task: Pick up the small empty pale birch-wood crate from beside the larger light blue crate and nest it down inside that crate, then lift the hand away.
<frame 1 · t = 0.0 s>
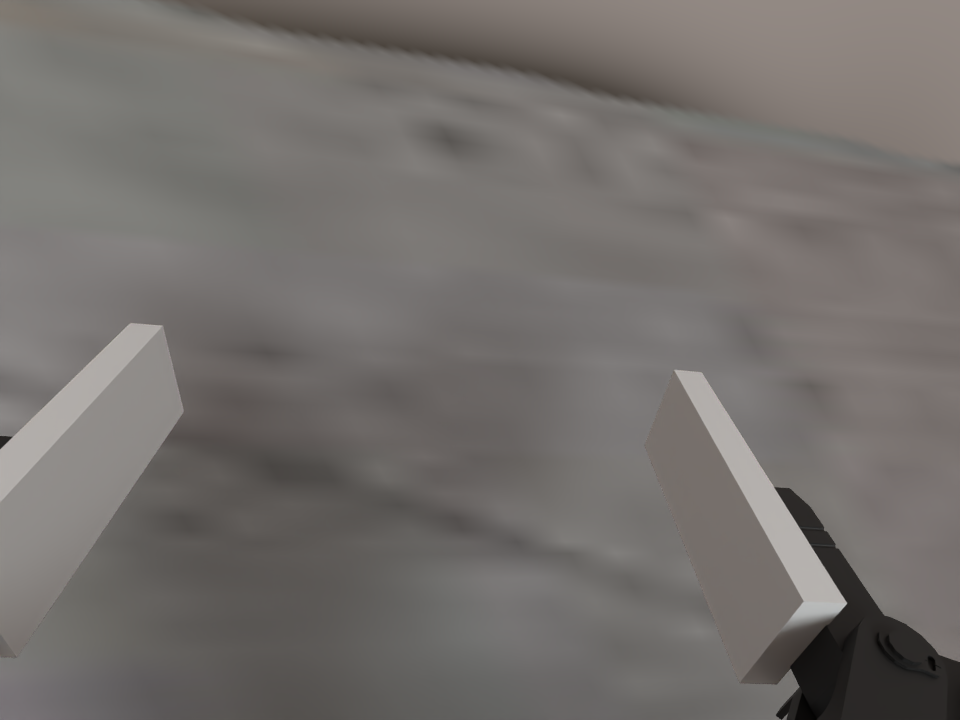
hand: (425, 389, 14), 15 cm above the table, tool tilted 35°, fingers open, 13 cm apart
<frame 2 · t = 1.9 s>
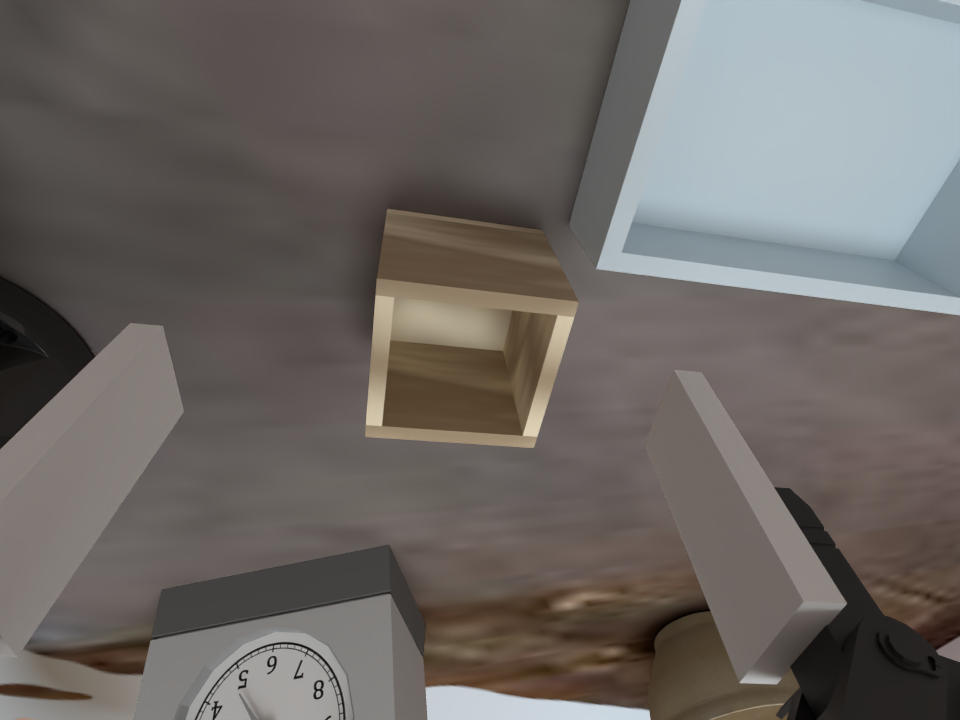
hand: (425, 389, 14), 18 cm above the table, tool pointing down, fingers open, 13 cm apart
alarm clock: (308, 611, 52), on the table
planter bowl: (694, 630, 60), on the table
light blue crate: (791, 130, 29), on the table
birch crate: (455, 288, 33), on the table
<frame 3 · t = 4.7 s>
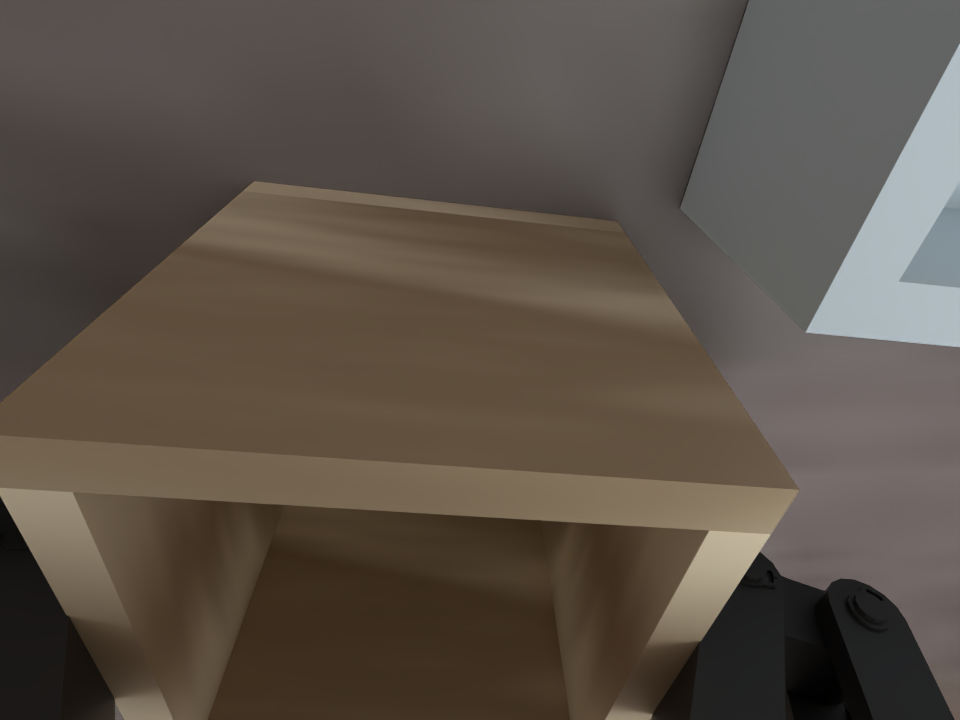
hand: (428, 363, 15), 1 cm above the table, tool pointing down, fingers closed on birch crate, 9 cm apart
birch crate: (429, 352, 16), on the table, touching gripper
when the fingers open (3 cm above the table, at t = 10.5 s): birch crate drops 2 cm, resting on light blue crate.
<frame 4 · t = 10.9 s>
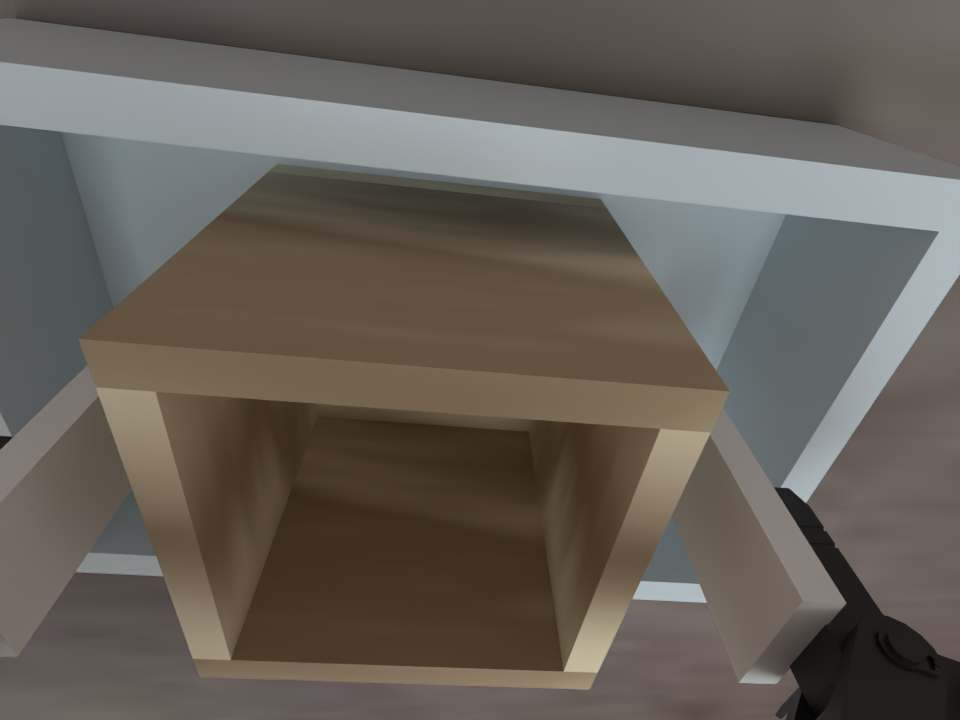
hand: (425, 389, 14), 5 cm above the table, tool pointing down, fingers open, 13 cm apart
light blue crate: (434, 305, 18), on the table
birch crate: (432, 321, 17), point 1 cm above the table, touching light blue crate
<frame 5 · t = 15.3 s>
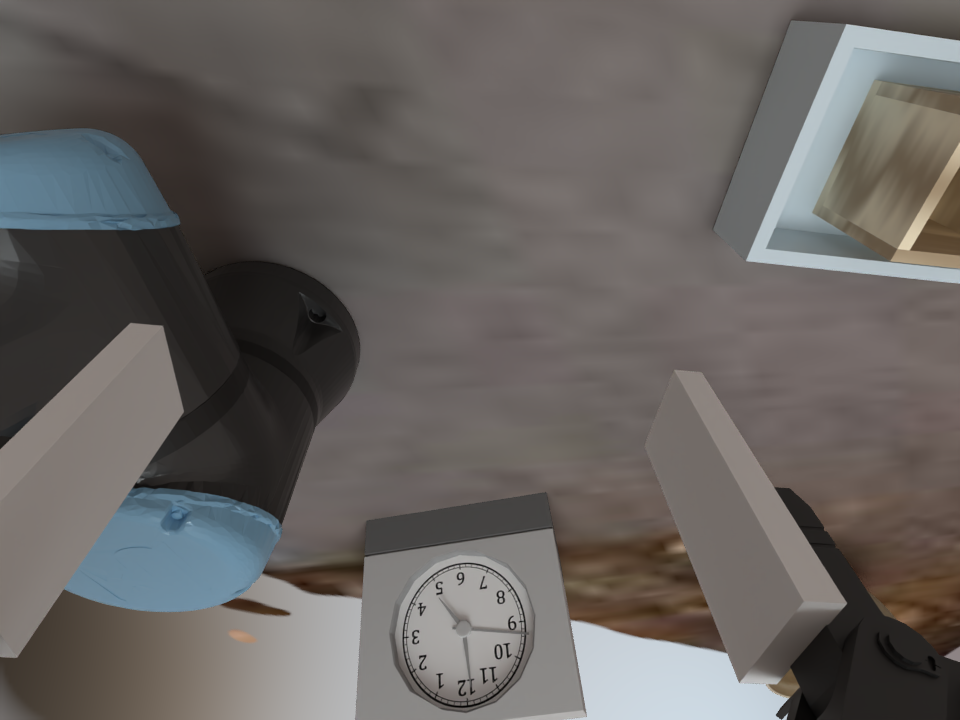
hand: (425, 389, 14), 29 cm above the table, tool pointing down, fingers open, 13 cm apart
alarm clock: (470, 547, 64), on the table
planter bowl: (790, 578, 69), on the table
light blue crate: (891, 153, 39), on the table
birch crate: (900, 157, 38), point 1 cm above the table, touching light blue crate
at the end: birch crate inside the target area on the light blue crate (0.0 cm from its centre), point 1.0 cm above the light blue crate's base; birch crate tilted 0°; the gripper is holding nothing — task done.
